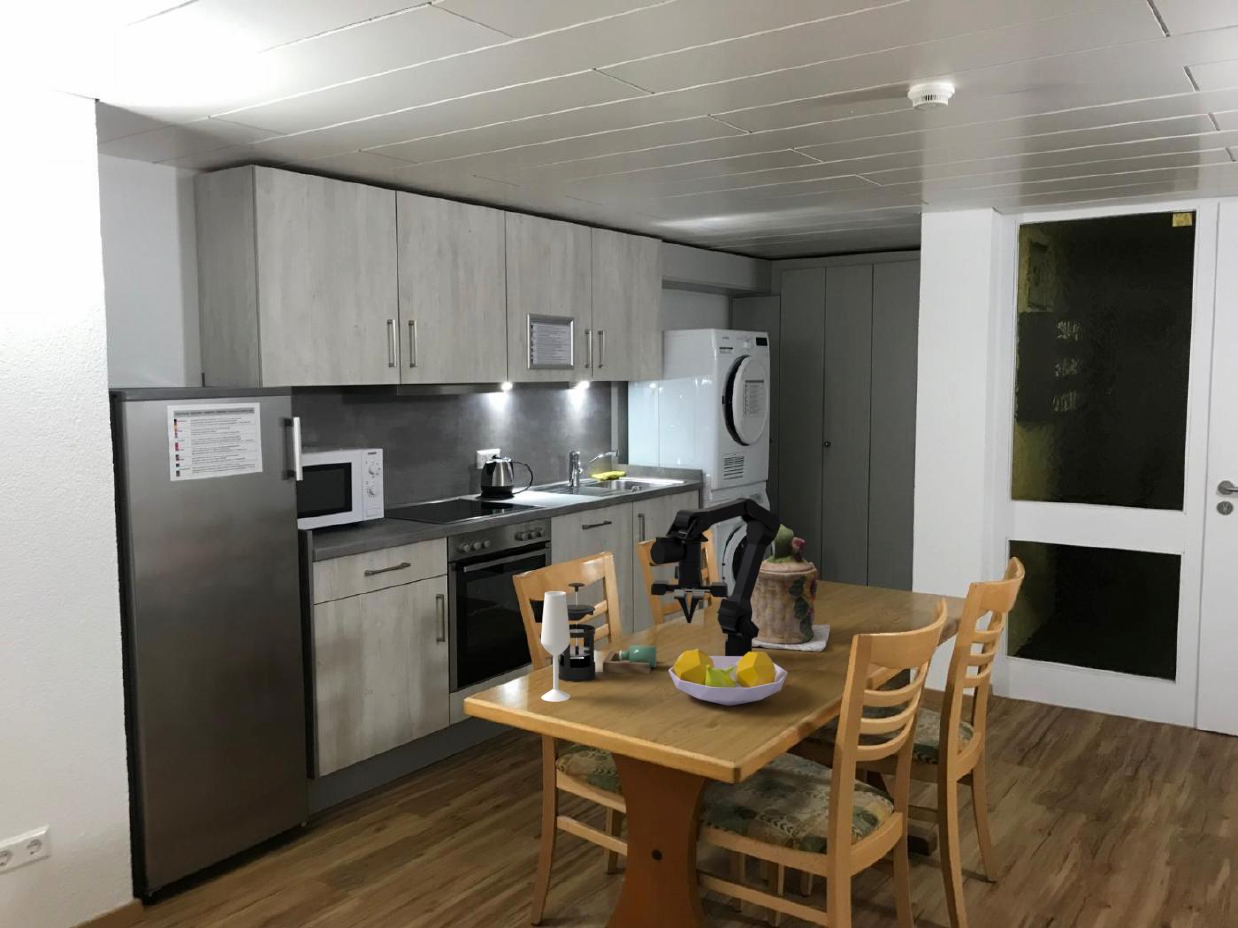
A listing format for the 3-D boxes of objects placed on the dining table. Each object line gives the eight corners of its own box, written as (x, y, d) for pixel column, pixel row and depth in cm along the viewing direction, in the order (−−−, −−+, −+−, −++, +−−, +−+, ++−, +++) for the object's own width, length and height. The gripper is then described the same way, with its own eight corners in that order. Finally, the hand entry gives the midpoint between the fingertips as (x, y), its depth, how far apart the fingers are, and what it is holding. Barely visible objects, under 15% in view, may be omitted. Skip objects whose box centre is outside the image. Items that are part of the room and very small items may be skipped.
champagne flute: (537, 694, 231) (536, 591, 229) (565, 691, 233) (564, 589, 231) (546, 702, 224) (545, 597, 223) (574, 699, 227) (574, 594, 225)
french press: (605, 674, 246) (605, 582, 245) (585, 684, 238) (584, 589, 237) (566, 668, 252) (565, 577, 251) (544, 677, 244) (543, 584, 243)
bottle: (656, 643, 254) (621, 642, 255) (654, 650, 249) (618, 648, 250) (656, 662, 255) (621, 661, 256) (654, 670, 250) (618, 668, 251)
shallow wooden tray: (654, 661, 258) (654, 652, 258) (648, 673, 247) (648, 664, 247) (610, 660, 260) (610, 650, 259) (602, 671, 249) (602, 662, 249)
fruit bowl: (710, 673, 248) (710, 627, 247) (808, 694, 231) (808, 645, 230) (640, 700, 226) (640, 650, 226) (742, 725, 209) (742, 672, 208)
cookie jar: (732, 647, 273) (733, 530, 270) (746, 626, 296) (746, 518, 294) (825, 653, 266) (827, 533, 264) (831, 631, 290) (833, 521, 287)
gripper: (729, 556, 255) (728, 617, 257) (656, 554, 258) (656, 614, 259) (726, 564, 244) (726, 627, 246) (650, 561, 247) (650, 624, 249)
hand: (689, 622), depth 250 cm, fingers closed
